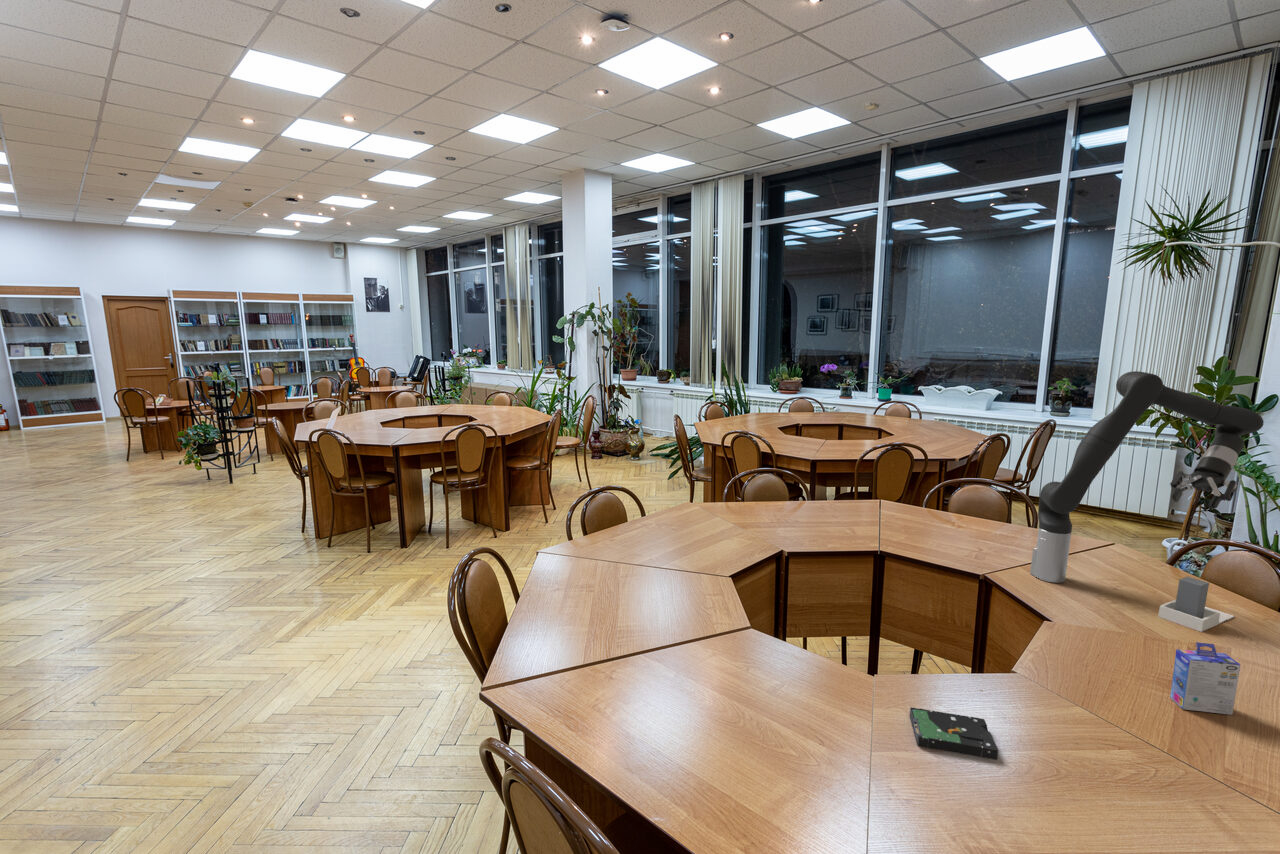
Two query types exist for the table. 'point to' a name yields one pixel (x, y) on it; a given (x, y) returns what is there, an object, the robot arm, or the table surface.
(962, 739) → the disk drive
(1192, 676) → the ink cartridge box
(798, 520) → the table surface
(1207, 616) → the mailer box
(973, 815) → the table surface
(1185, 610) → the charcoal carton
